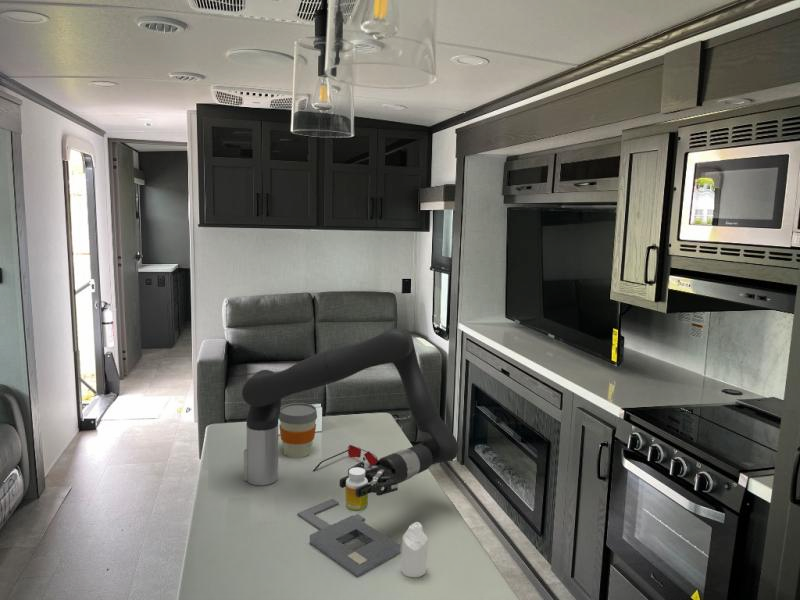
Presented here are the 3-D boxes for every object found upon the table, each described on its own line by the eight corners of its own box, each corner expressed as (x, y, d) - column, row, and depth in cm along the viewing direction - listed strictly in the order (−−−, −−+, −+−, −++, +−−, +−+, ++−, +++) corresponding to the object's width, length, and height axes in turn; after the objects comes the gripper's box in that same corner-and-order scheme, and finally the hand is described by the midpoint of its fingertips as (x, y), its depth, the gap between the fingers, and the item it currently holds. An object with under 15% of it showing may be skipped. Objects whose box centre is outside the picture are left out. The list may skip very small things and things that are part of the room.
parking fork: (330, 537, 153) (330, 535, 153) (297, 515, 163) (297, 513, 163) (365, 520, 162) (365, 518, 162) (332, 500, 171) (332, 498, 171)
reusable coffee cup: (297, 441, 210) (298, 400, 208) (324, 451, 203) (325, 408, 201) (270, 452, 200) (270, 409, 198) (297, 463, 193) (297, 419, 191)
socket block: (309, 542, 150) (309, 534, 150) (352, 522, 160) (352, 514, 160) (357, 576, 138) (357, 567, 138) (400, 552, 148) (400, 544, 148)
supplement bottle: (364, 515, 144) (365, 477, 142) (342, 512, 145) (343, 474, 144) (369, 503, 149) (370, 467, 148) (348, 501, 151) (349, 464, 149)
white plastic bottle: (403, 529, 136) (402, 516, 142) (401, 577, 139) (400, 562, 144) (429, 530, 137) (427, 517, 142) (427, 577, 139) (425, 563, 144)
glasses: (380, 469, 193) (381, 454, 192) (343, 487, 180) (344, 472, 179) (349, 456, 201) (349, 442, 200) (312, 472, 189) (312, 457, 188)
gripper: (379, 444, 161) (329, 463, 149) (419, 463, 151) (369, 485, 139) (378, 470, 162) (329, 491, 150) (418, 490, 152) (368, 514, 140)
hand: (348, 488), depth 144 cm, fingers closed on supplement bottle, 5 cm apart
